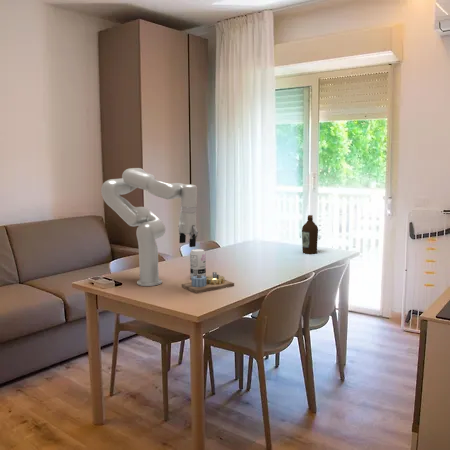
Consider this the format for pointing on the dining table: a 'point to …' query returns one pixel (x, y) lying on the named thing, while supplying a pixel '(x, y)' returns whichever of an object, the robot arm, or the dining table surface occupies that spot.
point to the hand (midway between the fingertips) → (187, 244)
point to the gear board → (207, 287)
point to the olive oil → (309, 236)
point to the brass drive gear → (215, 279)
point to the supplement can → (197, 262)
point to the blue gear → (199, 281)
